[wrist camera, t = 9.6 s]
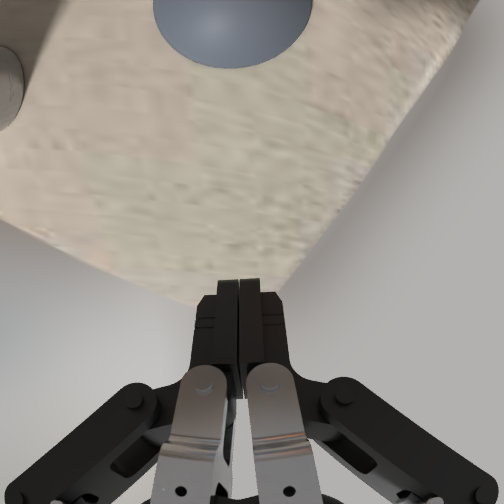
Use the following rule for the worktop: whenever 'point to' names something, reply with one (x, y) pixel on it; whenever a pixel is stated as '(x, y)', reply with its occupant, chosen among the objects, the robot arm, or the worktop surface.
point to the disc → (231, 29)
